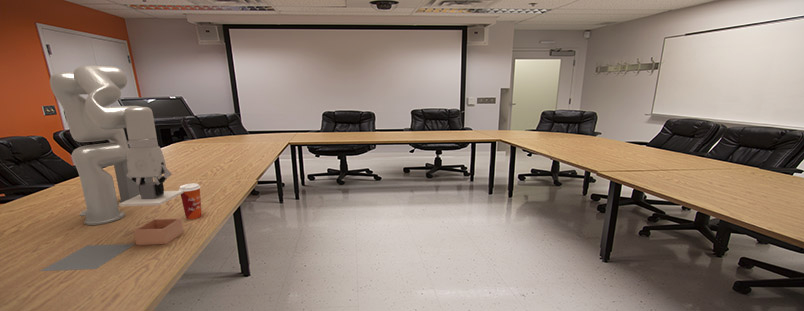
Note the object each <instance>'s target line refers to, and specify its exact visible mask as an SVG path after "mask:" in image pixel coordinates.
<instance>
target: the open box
mask: <svg viewBox="0 0 804 311" xmlns="http://www.w3.org/2000/svg"><path fill="white" fill-rule="evenodd" d="M183 226H184V224H183V220H182V218H181V217H178V218H177V217H176V218H173V217H172V218H153V219H151V220H149V221H147V222H146V223H144V224H142V225H141V226H139V227H137V228H135V229H134V230H133V234H134V235H133V236H134V240H135V245H136V246H148V245H149V246H150V245H167V244H168V243H170V242H172V240H174V239H176V238H177V237H178V236H180V235H182V233H184V231H185V230H184V227H183Z"/></svg>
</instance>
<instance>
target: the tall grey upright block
mask: <svg viewBox="0 0 804 311" xmlns="http://www.w3.org/2000/svg"><path fill="white" fill-rule="evenodd" d="M113 167H114V173H115V178H116V183H117V188H118V193H119V198H120V199H119V204H120V203H122V202H124V201H127V200H129V199H131V198H133V197H136V196H138V195H140V191H139V186H138V185H136V182H134V181H133V180H132V179H130V178H129V177H127V176H126V175H127V173H128V167H127V162H126V163H123V164H118V165H113ZM146 182H154V178H153V177H146V179H145V183H146Z"/></svg>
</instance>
